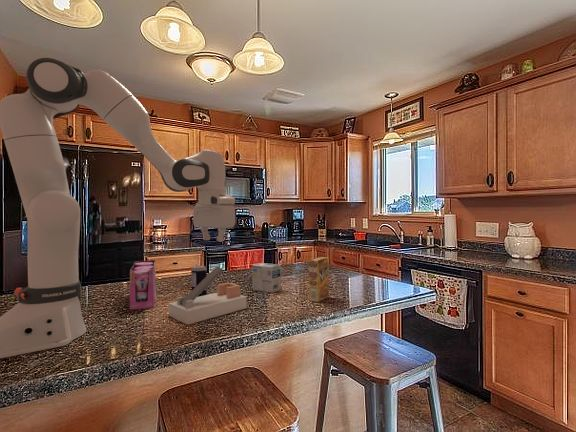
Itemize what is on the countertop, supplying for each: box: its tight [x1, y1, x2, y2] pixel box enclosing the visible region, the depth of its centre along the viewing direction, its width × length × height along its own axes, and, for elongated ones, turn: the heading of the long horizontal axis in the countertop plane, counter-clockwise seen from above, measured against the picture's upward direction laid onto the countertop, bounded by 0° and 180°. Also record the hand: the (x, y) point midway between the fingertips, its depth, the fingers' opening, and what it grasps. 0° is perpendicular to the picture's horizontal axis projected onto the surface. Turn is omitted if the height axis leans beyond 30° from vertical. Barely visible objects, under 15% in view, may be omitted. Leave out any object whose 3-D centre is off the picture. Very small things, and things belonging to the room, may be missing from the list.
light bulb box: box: [251, 262, 282, 294], centre depth 137 cm, size 11×7×11 cm, turn 58°
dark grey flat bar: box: [180, 266, 224, 306], centre depth 106 cm, size 16×4×1 cm
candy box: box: [308, 256, 330, 303], centre depth 123 cm, size 9×4×15 cm, turn 147°
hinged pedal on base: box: [168, 282, 247, 325], centre depth 108 cm, size 22×12×8 cm, turn 136°
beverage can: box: [190, 265, 208, 297], centre depth 126 cm, size 6×6×12 cm
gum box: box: [129, 259, 157, 311], centre depth 122 cm, size 24×8×14 cm, turn 20°
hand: (213, 240), depth 109 cm, fingers open, 7 cm apart
